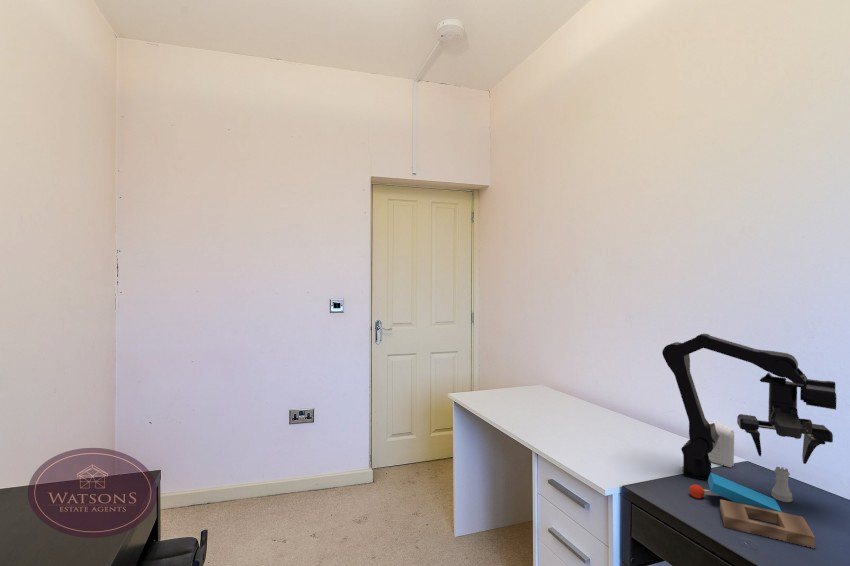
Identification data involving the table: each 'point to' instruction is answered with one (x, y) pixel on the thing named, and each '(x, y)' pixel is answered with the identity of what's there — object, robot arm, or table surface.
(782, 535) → the walnut socket board
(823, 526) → the table surface
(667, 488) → the table surface
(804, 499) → the table surface
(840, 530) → the table surface
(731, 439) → the photo printer
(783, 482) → the rook chess piece
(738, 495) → the lever
